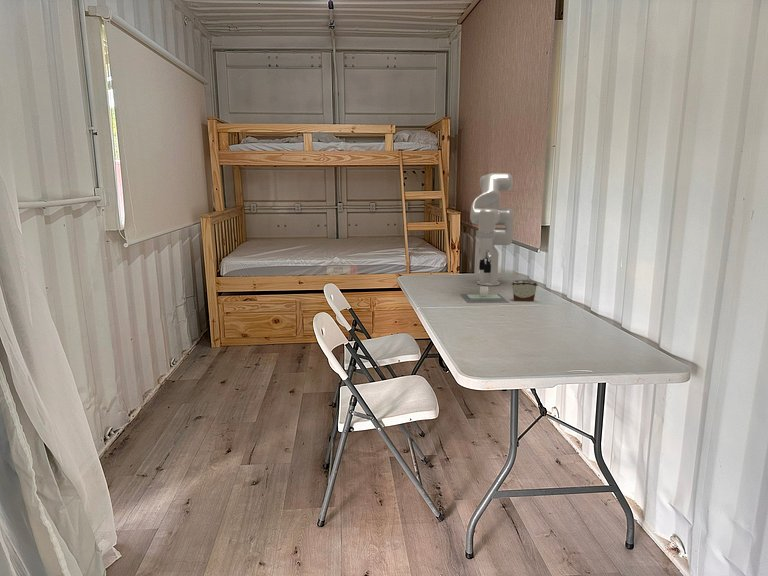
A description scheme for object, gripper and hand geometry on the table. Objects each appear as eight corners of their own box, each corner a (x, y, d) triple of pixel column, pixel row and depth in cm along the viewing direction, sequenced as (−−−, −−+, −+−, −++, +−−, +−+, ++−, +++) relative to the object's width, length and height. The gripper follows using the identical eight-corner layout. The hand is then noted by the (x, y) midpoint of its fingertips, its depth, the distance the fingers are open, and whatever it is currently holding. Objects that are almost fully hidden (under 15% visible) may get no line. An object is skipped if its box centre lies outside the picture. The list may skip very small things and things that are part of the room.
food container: (534, 300, 257) (535, 279, 255) (536, 302, 251) (538, 282, 249) (508, 299, 258) (509, 279, 256) (510, 302, 252) (511, 281, 250)
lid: (466, 296, 262) (467, 285, 261) (496, 296, 263) (497, 285, 261) (470, 300, 253) (470, 289, 252) (501, 300, 254) (501, 288, 253)
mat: (459, 295, 267) (459, 294, 267) (498, 295, 268) (498, 293, 268) (467, 304, 248) (467, 302, 248) (509, 303, 249) (509, 302, 248)
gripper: (474, 234, 260) (473, 268, 263) (482, 237, 243) (481, 273, 246) (489, 234, 260) (488, 268, 263) (498, 237, 243) (497, 273, 246)
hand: (484, 271), depth 255 cm, fingers open, 9 cm apart
